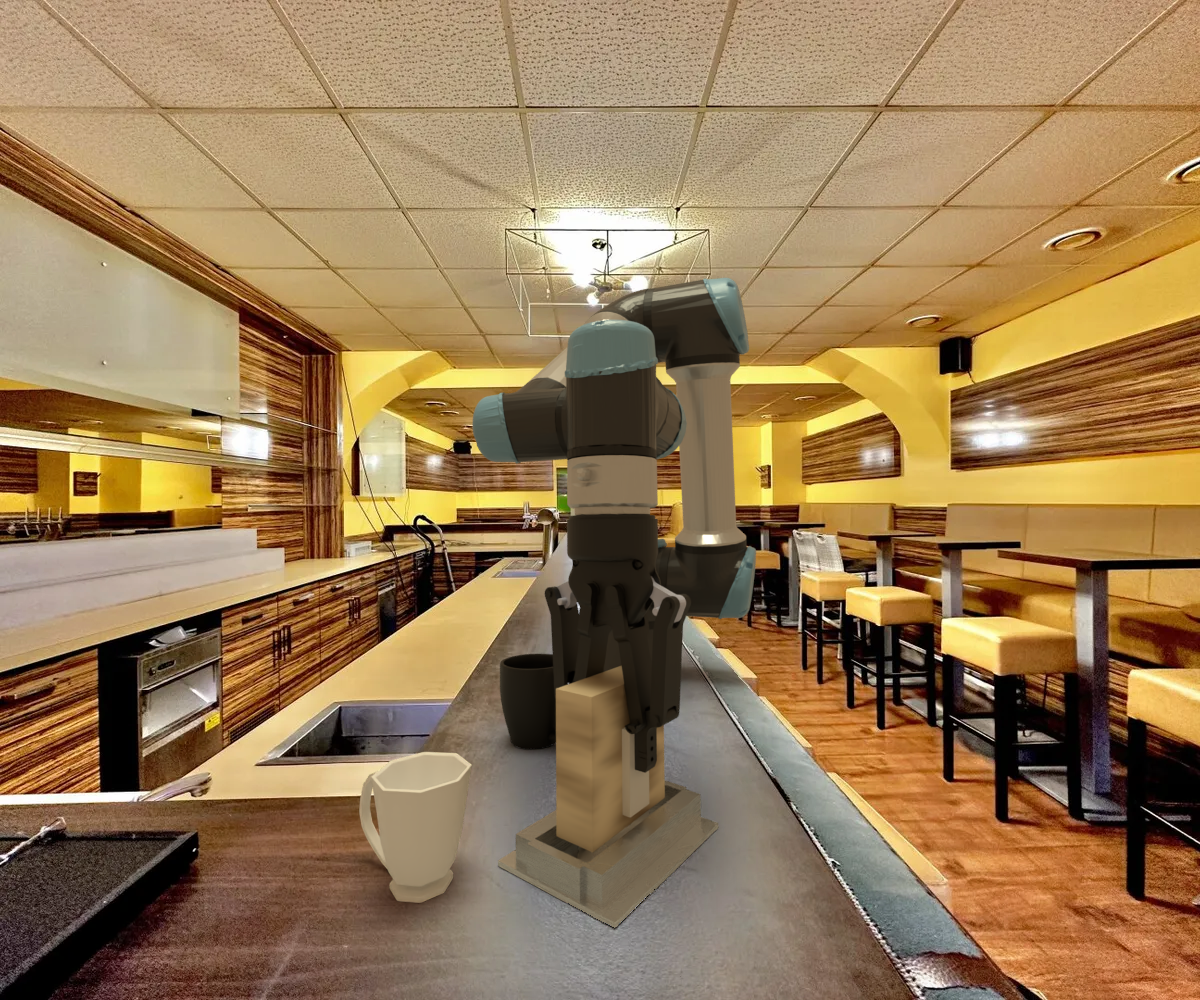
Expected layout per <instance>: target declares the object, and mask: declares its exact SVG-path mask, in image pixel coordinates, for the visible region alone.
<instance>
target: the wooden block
mask: <svg viewBox="0 0 1200 1000" xmlns="http://www.w3.org/2000/svg"><path fill="white" fill-rule="evenodd" d="M629 723H630V719H629V713H628V706H627V699H626V692H625V686H624V679H623V672H622V666H619V667H616V668H613V669H611V670H608V671H605V672H602V673H599V674H596V675H594V676H591V677H588V678H585V679H582V680H579V681H577V682H574V683H571V684H569V683H568V685H565V686H562V687H560V688H557V689H556V744H555V763H556V765H555V771H556V773H555V778H556V779H555V781H556V785H555V790H556V795H555V796H556V797H555V798H556V799H555V803H556V804H555V805H556V809H555V810H556V836H557V837H559V838H562V839H564V840H566V841H568V842H571V843H573V844H575V845H577V846H579V847H582V848H584V849H586V850H588V851H591V852H594V851H595V850H597V849H598V848H599V847H601V846H602V845H603V844H605V843H606V842H607V841H609V840H610V839H611V838H612V837H614V836H615V835H616V834H618V833H619V832H620V831H622V830H623V829H624V828H626V827H627V826H628V825H630V824H631V823H632V822H634V821H635V820H636V819H638V818H639V817H640V816H641V815H643V814H644V813H645V812H647V811H648V810H649V809H651V808H652V807H653V806H655V805H656V804H657V803H659V802H660V801H661V800H663V799H664V798H665V781H666V780H665V777H666V776H665V725H663V726H661V727H659V728H657V762H656V765H655V767H653V768H652V769H650V770H649V804H648V805H647V806H646V807H644V808H643V809H641V810H640V811H639V812H637V813H636V814H635V815H633V816H632V817H631V818H630V817H627V816H624V815H623V806H622V729H623V728H625V725H627V724H629Z"/></svg>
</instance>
